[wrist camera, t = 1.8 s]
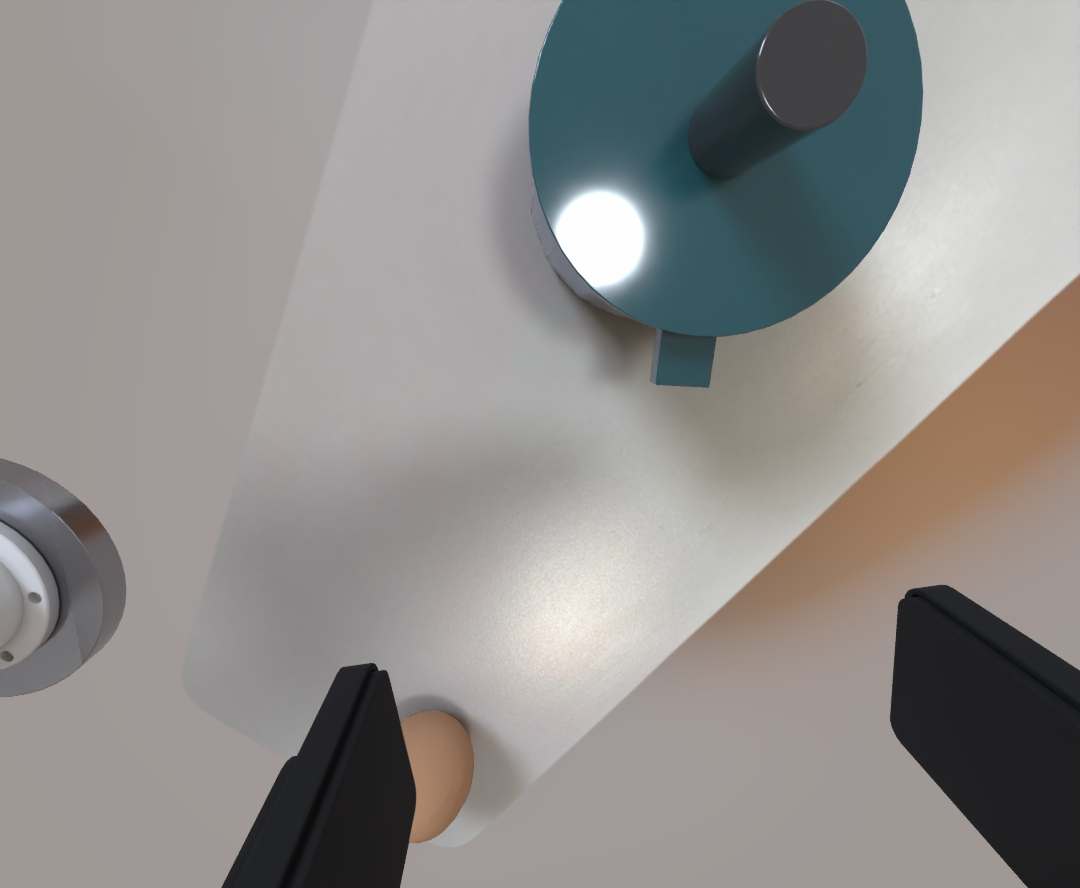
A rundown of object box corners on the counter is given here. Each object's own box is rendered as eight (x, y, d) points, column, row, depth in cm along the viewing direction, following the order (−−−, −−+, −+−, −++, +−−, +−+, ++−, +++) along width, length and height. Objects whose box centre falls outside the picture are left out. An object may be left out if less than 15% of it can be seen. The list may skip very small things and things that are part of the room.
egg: (377, 700, 37) (340, 807, 29) (462, 677, 37) (448, 778, 29) (407, 767, 39) (380, 885, 31) (488, 745, 39) (481, 859, 31)
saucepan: (523, 356, 31) (527, 380, 21) (542, -15, 26) (560, -214, 16) (738, 368, 32) (841, 397, 22) (796, 11, 27) (963, -162, 17)
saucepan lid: (518, 324, 21) (520, 333, 15) (539, -115, 17) (554, -358, 11) (855, 345, 22) (993, 361, 16) (945, -68, 18) (1176, -266, 12)
